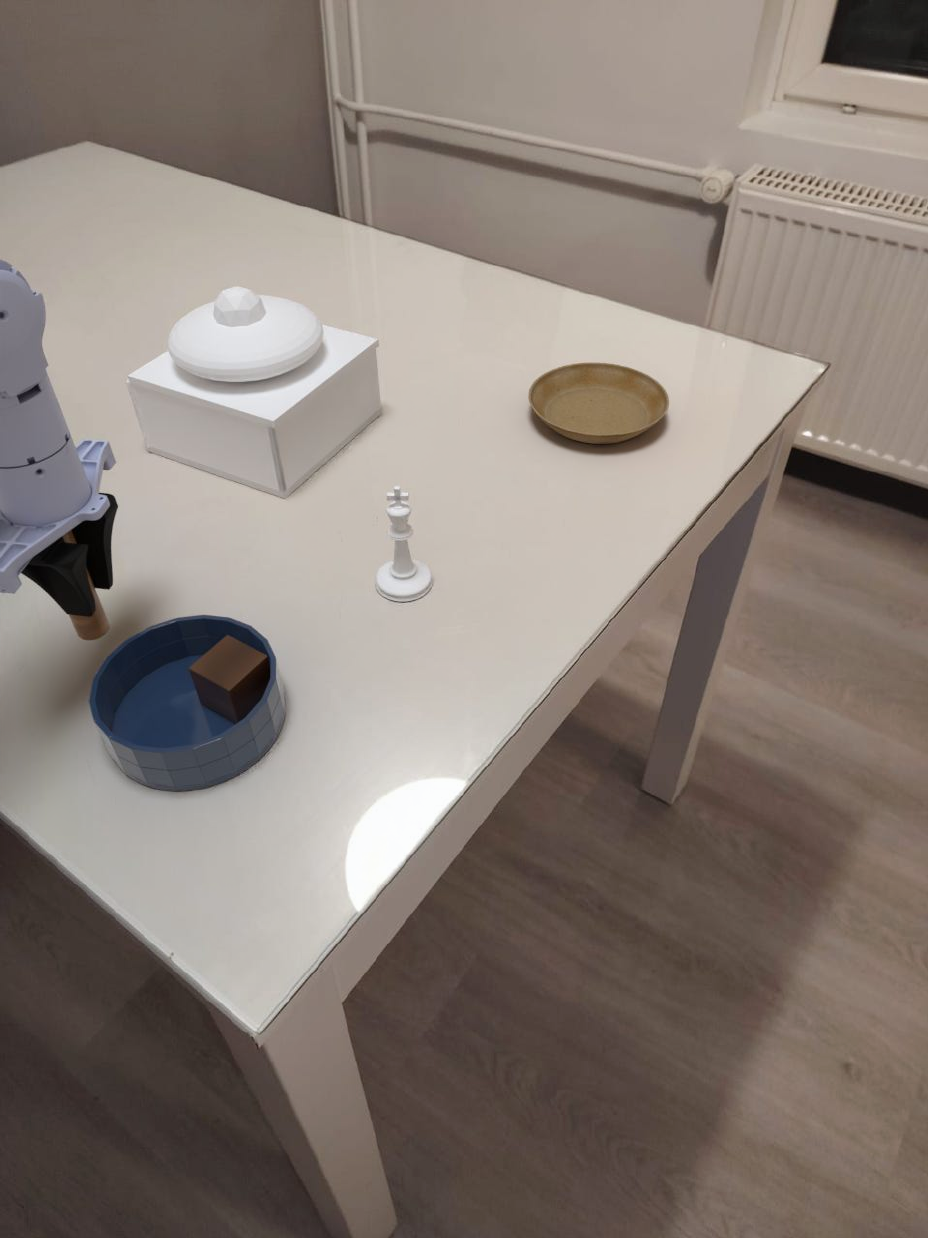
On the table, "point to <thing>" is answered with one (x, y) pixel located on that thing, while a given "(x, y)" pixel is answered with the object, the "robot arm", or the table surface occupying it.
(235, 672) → the block
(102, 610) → the rod
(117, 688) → the bowl
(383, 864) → the table surface
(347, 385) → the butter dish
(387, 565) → the chess piece
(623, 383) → the plant saucer
